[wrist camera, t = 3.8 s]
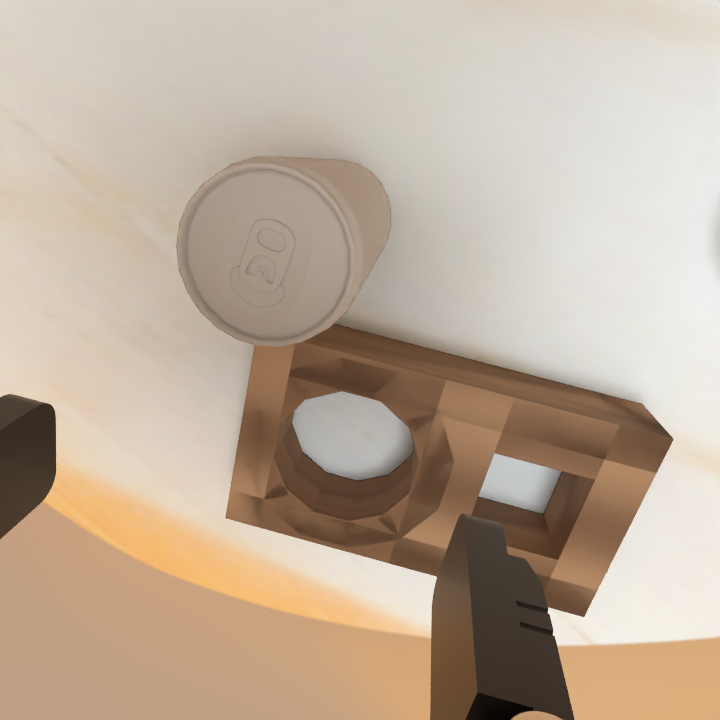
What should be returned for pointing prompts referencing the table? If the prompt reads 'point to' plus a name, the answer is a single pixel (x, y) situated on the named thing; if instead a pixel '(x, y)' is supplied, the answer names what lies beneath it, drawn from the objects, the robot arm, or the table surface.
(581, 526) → the walnut bore block
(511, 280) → the table surface
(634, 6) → the table surface
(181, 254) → the beverage can
